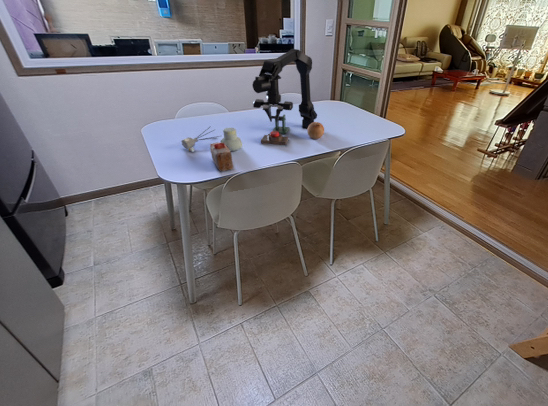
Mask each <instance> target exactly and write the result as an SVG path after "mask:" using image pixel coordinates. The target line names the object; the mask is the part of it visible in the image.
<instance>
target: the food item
mask: <svg viewBox="0 0 548 406" xmlns="http://www.w3.org/2000/svg"><path fill="white" fill-rule="evenodd" d="M225 144H226V143H225ZM225 144H224V143H221V141H220V142H213V143H210V144H209V146H210V148H209V149H210V154H211V159H212V161H213V162H214V164H215V167H216V168H217V169H218V170H219V172H225V171H231V170H233V169H234V161H233V155H232V152H231V151H230V150H229V146H228V145H225Z"/></svg>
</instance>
